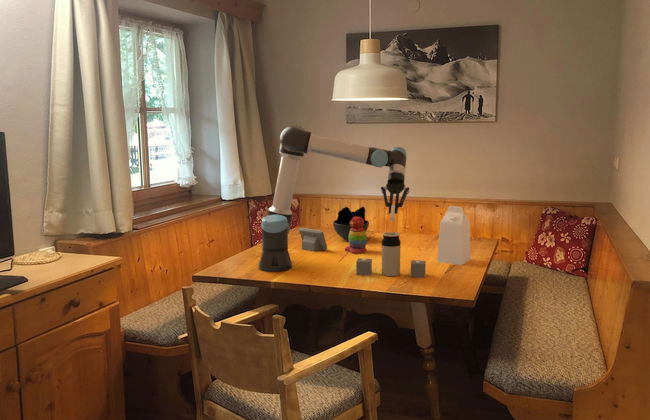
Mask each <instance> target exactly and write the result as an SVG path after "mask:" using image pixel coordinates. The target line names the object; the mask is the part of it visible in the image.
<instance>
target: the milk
mask: <svg viewBox="0 0 650 420" xmlns="http://www.w3.org/2000/svg"><path fill="white" fill-rule="evenodd" d="M470 229H471V223H470V220H469V217H467V215H466V214H465V212H464V209H463V207H462V206H456V205H455V206H453V205H449V206H448V208H447V210H446V212H445V214H444V215H443V216H442V219H441V220H440V224H439V234H438V244H437V245H438V246H437V258H436V259H437V260H436V263H442V264H443V263H444V264H451V265H459V266H462V265H464V264H466V263H469V261H471V230H470Z"/></svg>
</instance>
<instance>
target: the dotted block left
mask: <svg viewBox="0 0 650 420" xmlns="http://www.w3.org/2000/svg"><path fill="white" fill-rule="evenodd" d="M355 263H356V264H355V265H356V267H355V268H356V269H355V270H356V271H355V272H356V273H355V274H356V276H368V277H369V276H371V275H372V272H373V259H372V258H359V257H358V258H357V259H356V262H355Z"/></svg>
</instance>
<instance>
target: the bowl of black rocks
mask: <svg viewBox="0 0 650 420" xmlns="http://www.w3.org/2000/svg"><path fill="white" fill-rule="evenodd" d="M354 216H356V217H361V218H362V219H363V221H364V225H363V228H364V229H365V231H366V232H367V231H368V228H369V225H370V222H369V221H368V220H366V207H365V206H361V207H360V208H357V209H356V210H355V211H351V209H350V208H349V207H348V206H345V207H343V208H342V209H340V210H338V213H337V218H336V219H335V220H333V222H332V226H333V229H334V231H335V233H336V235H338V236H339V237H340V238H342V239H344V240H347V241H349V232H350V229H351V228H352V227H351V225H350V221H351V220H352V218H354Z"/></svg>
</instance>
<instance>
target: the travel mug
mask: <svg viewBox="0 0 650 420" xmlns="http://www.w3.org/2000/svg"><path fill="white" fill-rule="evenodd" d="M400 235H401V234H400V232H396V231H389V232H388V231H387V232H383V233H382V237H383V238H382V240H381V274H382V275H383V276H385V277H392V278H393V277H397V276H400V274H401V240H400Z"/></svg>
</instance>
